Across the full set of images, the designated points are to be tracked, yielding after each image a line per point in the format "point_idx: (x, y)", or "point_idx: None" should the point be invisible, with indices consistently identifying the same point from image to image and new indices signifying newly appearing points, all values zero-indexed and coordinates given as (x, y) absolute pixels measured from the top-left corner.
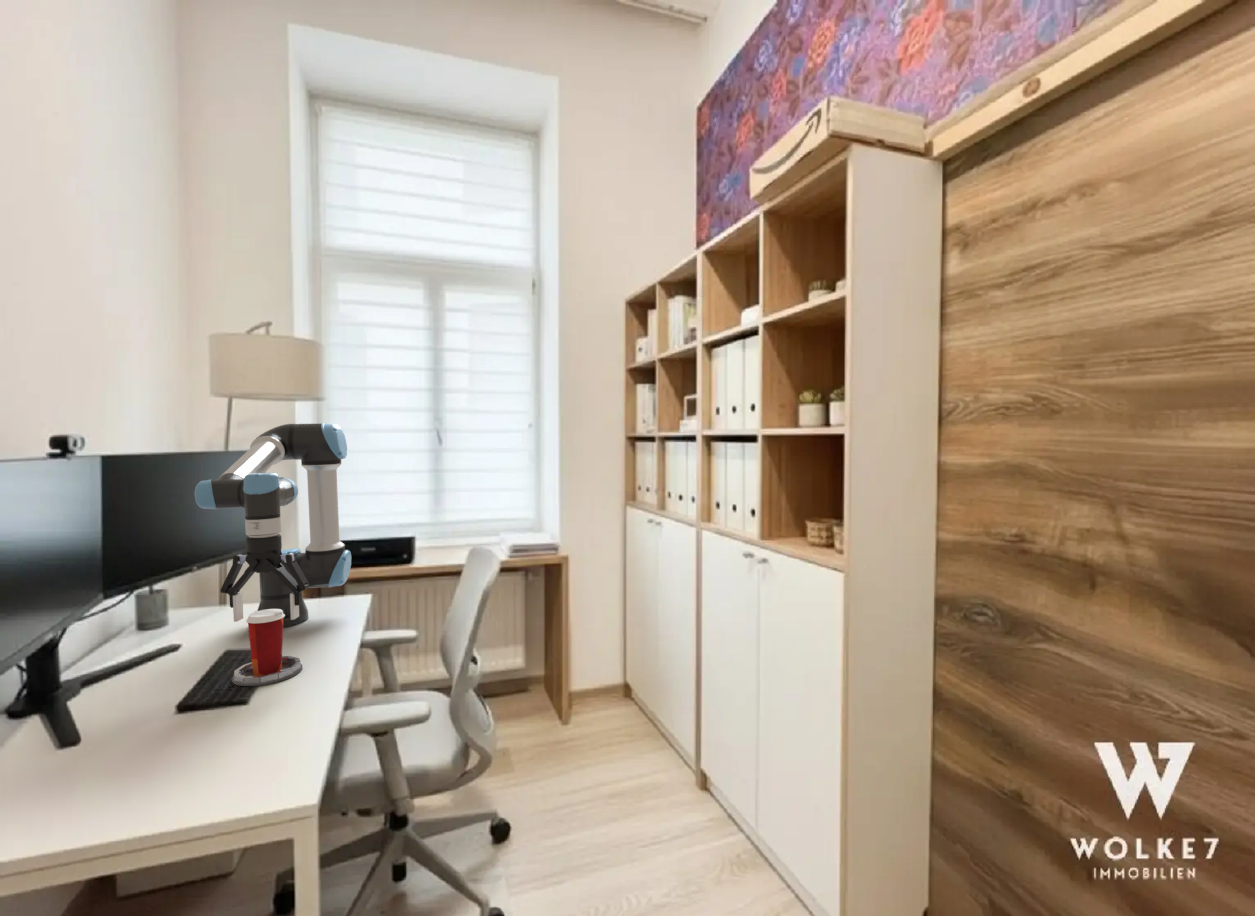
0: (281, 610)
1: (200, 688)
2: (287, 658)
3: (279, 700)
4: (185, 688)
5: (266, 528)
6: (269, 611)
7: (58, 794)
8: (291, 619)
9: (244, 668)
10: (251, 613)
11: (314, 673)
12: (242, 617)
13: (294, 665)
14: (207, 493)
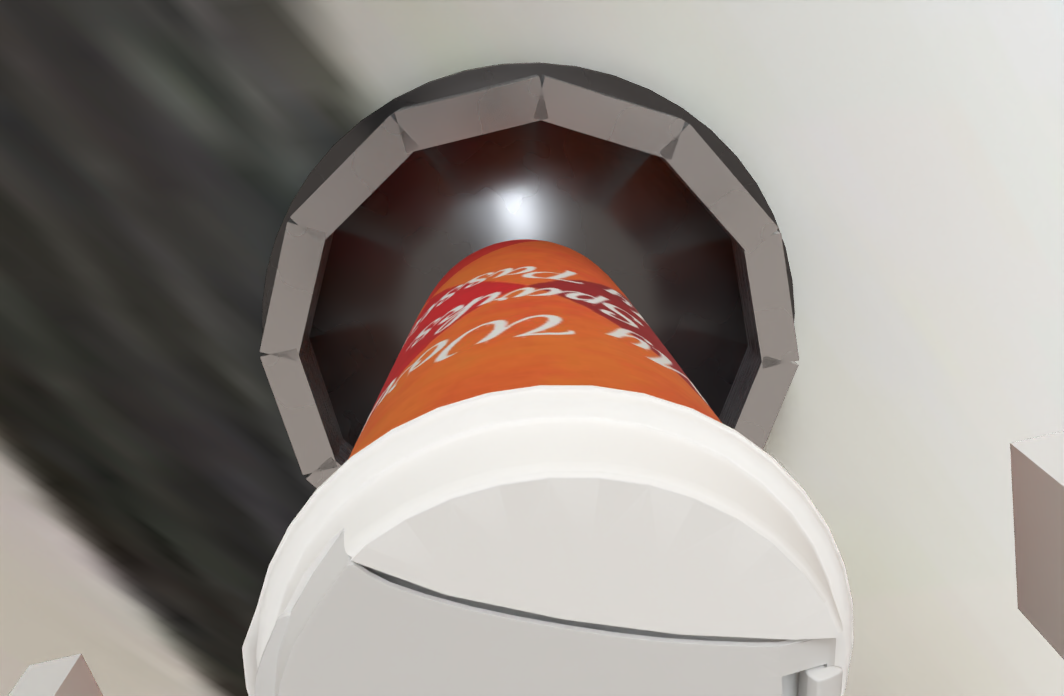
0: (786, 578)
1: (223, 616)
2: (548, 122)
3: (942, 686)
4: (109, 631)
5: None
6: (573, 662)
7: None
8: (1030, 606)
9: (313, 382)
10: None
11: (924, 260)
12: (80, 688)
13: (769, 304)
14: None
